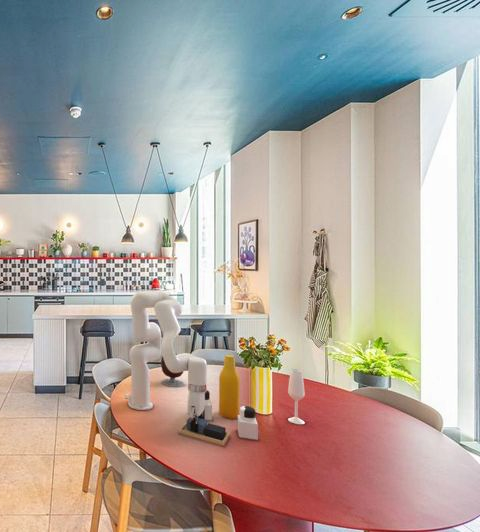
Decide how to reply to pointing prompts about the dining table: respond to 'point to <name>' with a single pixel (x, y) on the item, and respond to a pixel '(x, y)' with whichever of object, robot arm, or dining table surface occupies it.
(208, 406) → the container
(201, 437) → the wooden tray
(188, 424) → the blue block
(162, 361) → the mate gourd
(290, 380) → the champagne flute
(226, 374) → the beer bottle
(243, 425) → the medicine bottle
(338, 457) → the dining table surface
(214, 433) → the pad
